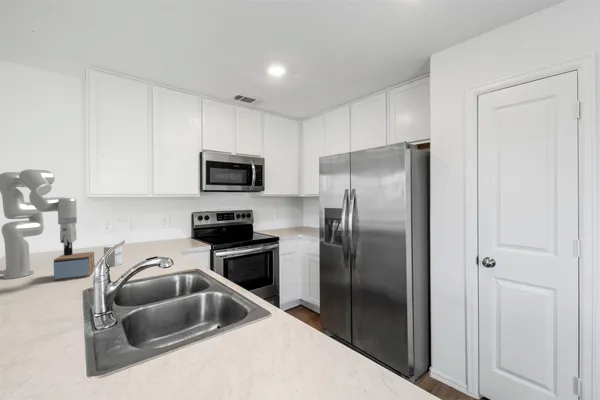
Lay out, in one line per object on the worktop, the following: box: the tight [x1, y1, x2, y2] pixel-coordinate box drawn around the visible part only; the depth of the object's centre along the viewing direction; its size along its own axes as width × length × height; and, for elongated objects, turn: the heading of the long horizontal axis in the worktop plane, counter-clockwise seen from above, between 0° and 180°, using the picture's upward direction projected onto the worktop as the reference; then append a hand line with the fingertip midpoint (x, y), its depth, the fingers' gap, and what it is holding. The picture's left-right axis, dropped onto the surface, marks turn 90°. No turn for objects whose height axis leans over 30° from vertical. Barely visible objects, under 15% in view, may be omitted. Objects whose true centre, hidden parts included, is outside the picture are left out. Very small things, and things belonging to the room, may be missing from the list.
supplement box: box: [103, 244, 123, 268], centre depth 175 cm, size 7×7×13 cm
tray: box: [53, 259, 89, 280], centre depth 152 cm, size 14×15×9 cm
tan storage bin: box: [53, 251, 95, 282], centre depth 153 cm, size 14×15×12 cm
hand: (68, 255), depth 143 cm, fingers closed
